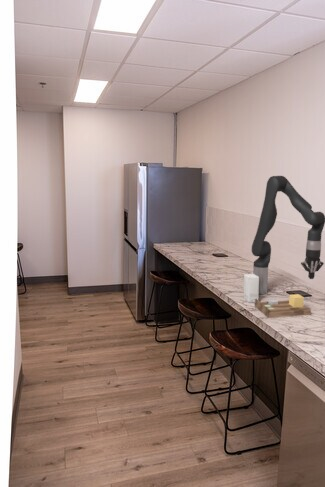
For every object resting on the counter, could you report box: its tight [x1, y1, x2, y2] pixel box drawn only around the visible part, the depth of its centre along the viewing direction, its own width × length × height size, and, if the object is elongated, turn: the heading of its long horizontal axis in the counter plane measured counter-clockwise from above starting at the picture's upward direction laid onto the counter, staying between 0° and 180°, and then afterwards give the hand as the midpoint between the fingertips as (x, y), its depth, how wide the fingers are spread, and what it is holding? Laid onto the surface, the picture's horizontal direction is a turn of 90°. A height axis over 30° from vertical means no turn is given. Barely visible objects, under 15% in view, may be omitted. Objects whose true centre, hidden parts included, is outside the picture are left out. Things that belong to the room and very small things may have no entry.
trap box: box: [254, 299, 312, 318], centre depth 210 cm, size 17×25×4 cm
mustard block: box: [288, 294, 305, 307], centre depth 210 cm, size 6×6×6 cm
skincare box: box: [243, 273, 260, 304], centre depth 225 cm, size 8×7×16 cm
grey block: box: [267, 299, 279, 305], centre depth 215 cm, size 4×4×4 cm
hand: (311, 278), depth 209 cm, fingers closed
